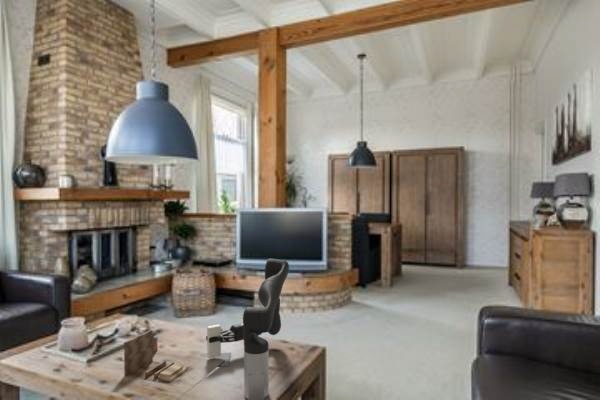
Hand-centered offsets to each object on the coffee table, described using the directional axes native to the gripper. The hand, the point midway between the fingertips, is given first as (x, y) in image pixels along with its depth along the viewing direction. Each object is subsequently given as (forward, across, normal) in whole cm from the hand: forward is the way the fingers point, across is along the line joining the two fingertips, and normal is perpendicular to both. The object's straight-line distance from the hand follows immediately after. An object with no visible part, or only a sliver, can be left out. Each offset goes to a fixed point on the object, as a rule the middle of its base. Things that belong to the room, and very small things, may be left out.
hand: (207, 339), depth 183 cm
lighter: (+19, -26, +10) cm, 34 cm away
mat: (-3, 0, +10) cm, 11 cm away
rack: (+21, 0, +10) cm, 24 cm away
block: (-3, 0, +8) cm, 9 cm away
